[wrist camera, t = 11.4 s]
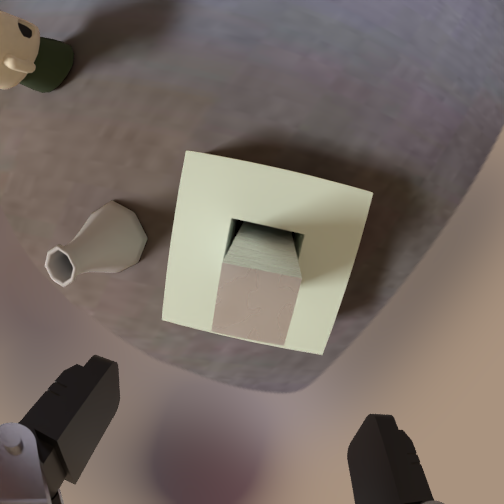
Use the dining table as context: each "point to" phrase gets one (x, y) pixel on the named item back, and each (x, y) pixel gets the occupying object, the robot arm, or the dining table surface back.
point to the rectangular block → (258, 285)
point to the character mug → (31, 56)
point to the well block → (269, 214)
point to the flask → (99, 245)
